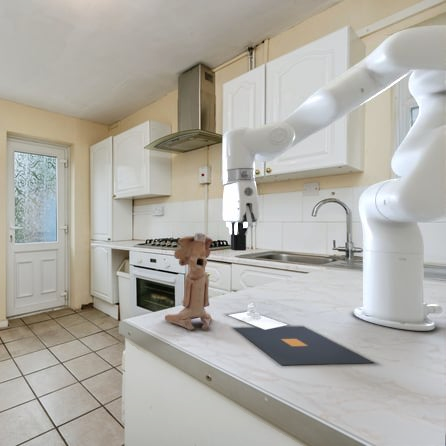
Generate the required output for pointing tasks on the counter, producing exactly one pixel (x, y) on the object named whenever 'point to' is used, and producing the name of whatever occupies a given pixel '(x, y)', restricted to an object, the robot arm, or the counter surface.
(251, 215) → the robot arm
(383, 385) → the counter surface
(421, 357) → the counter surface
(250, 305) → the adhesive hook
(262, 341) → the centre mat
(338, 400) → the counter surface
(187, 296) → the figurine
